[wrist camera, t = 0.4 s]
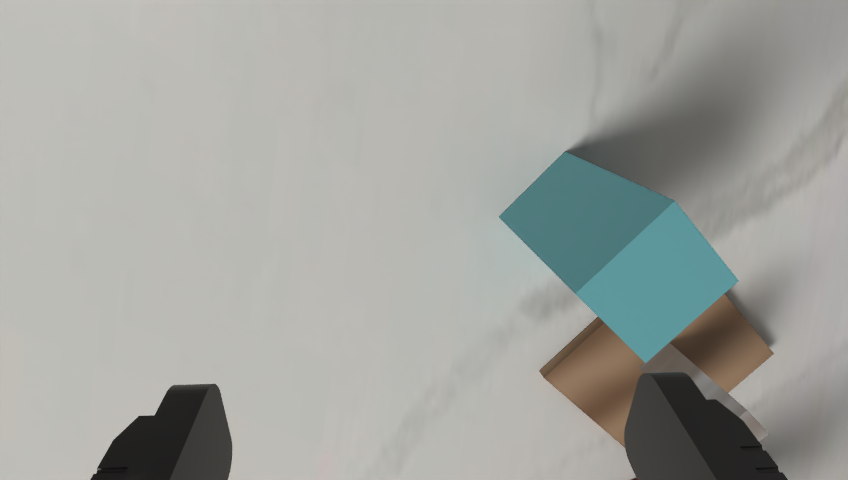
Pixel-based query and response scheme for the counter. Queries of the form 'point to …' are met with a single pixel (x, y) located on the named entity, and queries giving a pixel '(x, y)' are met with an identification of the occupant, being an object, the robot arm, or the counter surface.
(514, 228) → the teal block
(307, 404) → the counter surface
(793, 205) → the counter surface
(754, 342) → the post board
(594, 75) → the counter surface
